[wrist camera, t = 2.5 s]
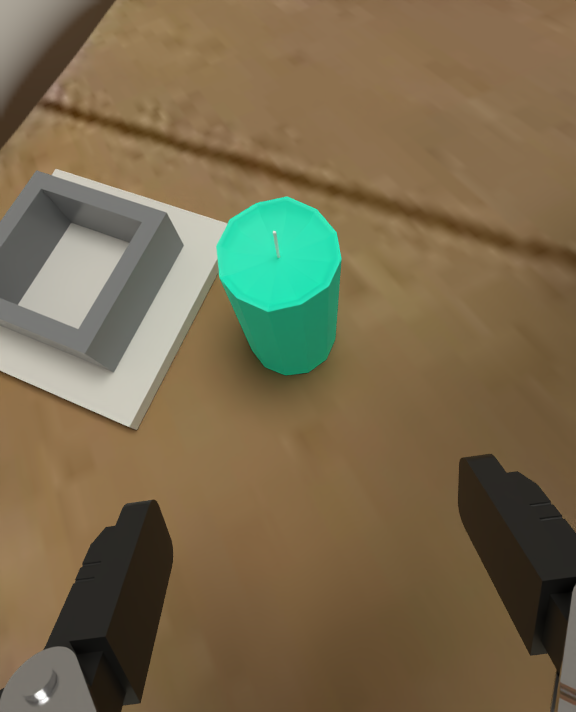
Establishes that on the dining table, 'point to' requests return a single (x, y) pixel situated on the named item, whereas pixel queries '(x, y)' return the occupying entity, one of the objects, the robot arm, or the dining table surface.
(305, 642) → the dining table surface
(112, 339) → the candle holder
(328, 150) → the dining table surface
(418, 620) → the dining table surface
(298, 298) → the candle
